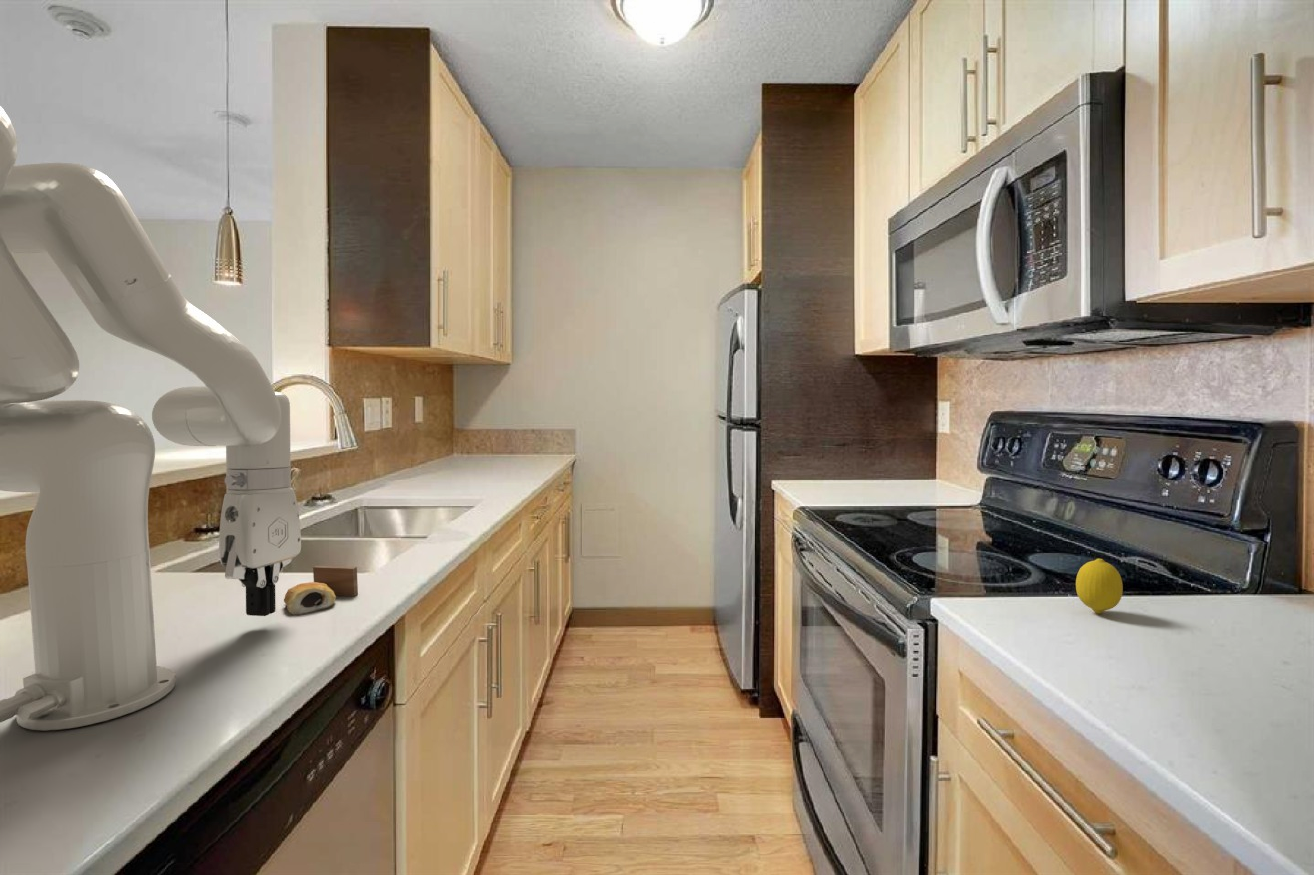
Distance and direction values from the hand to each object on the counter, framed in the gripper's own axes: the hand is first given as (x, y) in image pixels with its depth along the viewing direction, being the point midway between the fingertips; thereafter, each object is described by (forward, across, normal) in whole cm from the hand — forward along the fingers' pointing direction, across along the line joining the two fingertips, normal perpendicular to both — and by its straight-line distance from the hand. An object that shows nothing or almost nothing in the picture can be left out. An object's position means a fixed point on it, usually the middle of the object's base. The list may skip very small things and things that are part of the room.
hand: (260, 613), depth 88 cm
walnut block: (+1, +15, -1) cm, 15 cm away
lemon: (+1, +21, -116) cm, 118 cm away
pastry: (+2, +10, 0) cm, 10 cm away
